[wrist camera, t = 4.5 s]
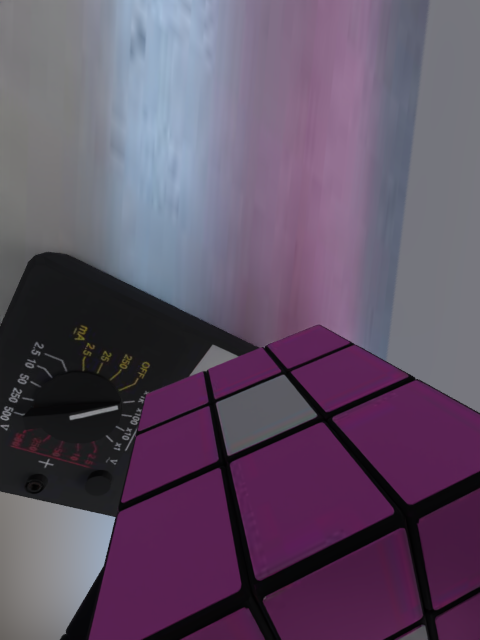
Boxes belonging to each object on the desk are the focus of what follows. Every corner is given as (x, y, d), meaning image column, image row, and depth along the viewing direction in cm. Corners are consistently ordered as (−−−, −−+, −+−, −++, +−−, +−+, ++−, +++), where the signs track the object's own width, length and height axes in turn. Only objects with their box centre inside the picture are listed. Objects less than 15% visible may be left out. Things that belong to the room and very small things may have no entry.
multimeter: (60, 247, 16) (9, 249, 11) (317, 374, 22) (354, 410, 17) (-24, 433, 18) (-98, 503, 13) (235, 504, 23) (249, 569, 19)
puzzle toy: (211, 526, 10) (250, 871, 4) (143, 393, 8) (67, 690, 3) (354, 459, 10) (544, 689, 5) (319, 322, 9) (552, 446, 3)
